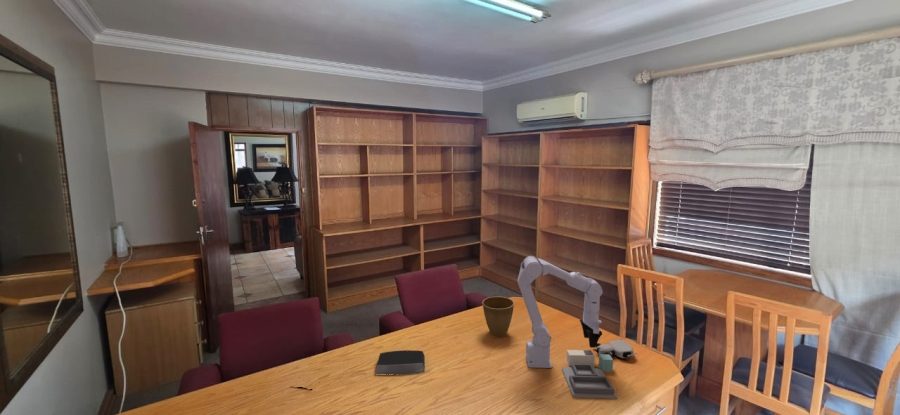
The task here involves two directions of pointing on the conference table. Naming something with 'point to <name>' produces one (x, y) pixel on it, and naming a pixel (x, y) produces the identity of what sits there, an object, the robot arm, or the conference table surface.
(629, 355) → the robot toy
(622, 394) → the conference table surface
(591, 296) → the robot arm
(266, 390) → the conference table surface
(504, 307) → the plant pot
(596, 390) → the jig
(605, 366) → the teal block
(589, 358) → the beige rectangular block
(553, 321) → the conference table surface
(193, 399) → the conference table surface
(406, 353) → the external hard drive
